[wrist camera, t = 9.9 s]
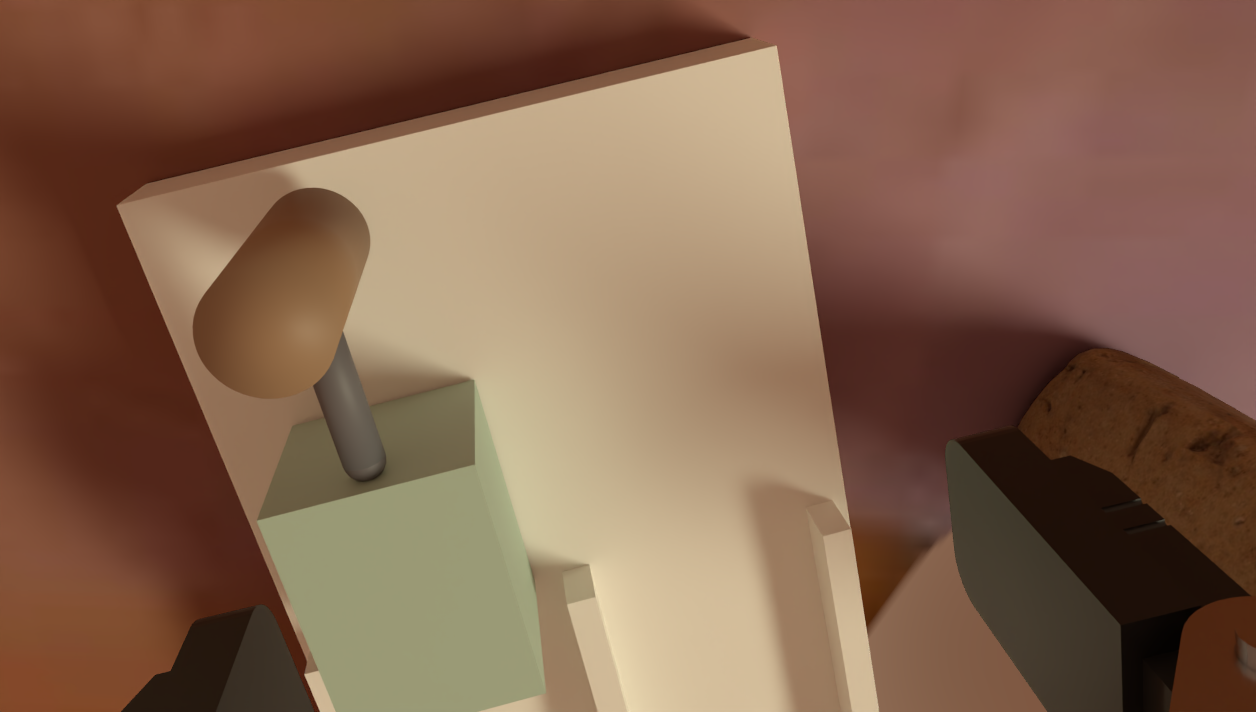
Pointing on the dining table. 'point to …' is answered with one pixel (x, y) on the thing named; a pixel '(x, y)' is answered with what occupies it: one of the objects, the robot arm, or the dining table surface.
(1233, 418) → the brown tall faceted piece
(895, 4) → the dining table surface
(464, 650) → the pull block
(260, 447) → the shelf
